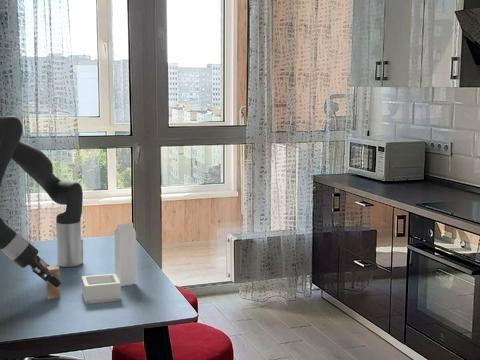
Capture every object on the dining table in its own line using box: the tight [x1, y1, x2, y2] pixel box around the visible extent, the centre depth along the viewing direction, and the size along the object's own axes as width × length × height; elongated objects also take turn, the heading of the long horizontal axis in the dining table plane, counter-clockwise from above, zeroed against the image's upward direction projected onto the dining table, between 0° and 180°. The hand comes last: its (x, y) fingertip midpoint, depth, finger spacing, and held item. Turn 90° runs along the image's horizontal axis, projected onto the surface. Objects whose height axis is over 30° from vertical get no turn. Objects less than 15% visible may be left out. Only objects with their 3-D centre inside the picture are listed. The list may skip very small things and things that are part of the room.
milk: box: [114, 222, 137, 287], centre depth 219 cm, size 6×6×22 cm
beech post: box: [45, 265, 61, 300], centre depth 204 cm, size 4×4×10 cm
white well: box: [81, 273, 122, 305], centre depth 204 cm, size 11×11×6 cm
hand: (58, 282), depth 204 cm, fingers open, 6 cm apart
